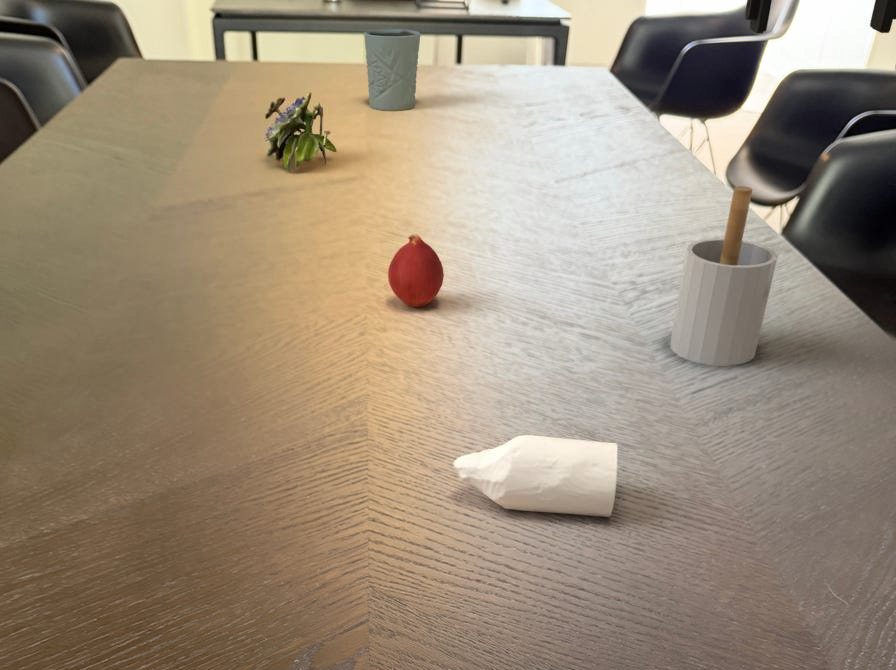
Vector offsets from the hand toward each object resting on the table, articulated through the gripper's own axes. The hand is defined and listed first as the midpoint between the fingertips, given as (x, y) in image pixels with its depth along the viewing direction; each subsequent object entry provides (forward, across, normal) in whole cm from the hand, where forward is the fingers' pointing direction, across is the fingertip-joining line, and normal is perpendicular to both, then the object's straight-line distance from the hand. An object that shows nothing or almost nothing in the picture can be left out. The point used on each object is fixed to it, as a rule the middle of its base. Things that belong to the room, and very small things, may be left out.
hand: (818, 30), depth 81 cm
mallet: (+27, +4, -2) cm, 28 cm away
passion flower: (+27, +55, -72) cm, 94 cm away
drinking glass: (+27, +44, -114) cm, 126 cm away
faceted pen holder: (+28, +3, -2) cm, 28 cm away
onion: (+28, +34, -12) cm, 45 cm away
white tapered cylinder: (+28, +22, +28) cm, 46 cm away
